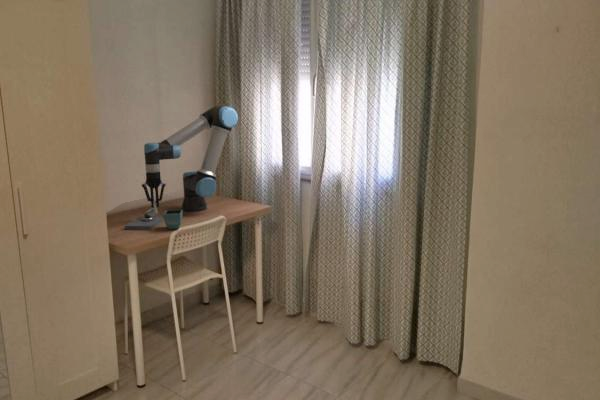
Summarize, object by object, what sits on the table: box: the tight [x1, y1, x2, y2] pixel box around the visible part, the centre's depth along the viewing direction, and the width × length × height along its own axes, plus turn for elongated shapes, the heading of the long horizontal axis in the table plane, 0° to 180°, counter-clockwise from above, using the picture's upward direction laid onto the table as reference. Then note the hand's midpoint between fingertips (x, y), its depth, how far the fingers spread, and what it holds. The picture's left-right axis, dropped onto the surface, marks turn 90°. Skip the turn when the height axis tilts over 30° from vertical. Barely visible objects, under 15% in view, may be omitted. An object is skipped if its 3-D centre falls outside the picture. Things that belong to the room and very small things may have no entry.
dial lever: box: [142, 207, 155, 221], centre depth 278 cm, size 12×6×4 cm, turn 177°
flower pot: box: [163, 209, 183, 230], centre depth 267 cm, size 9×9×9 cm
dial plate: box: [124, 215, 164, 231], centre depth 274 cm, size 14×20×2 cm
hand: (155, 213), depth 280 cm, fingers closed
